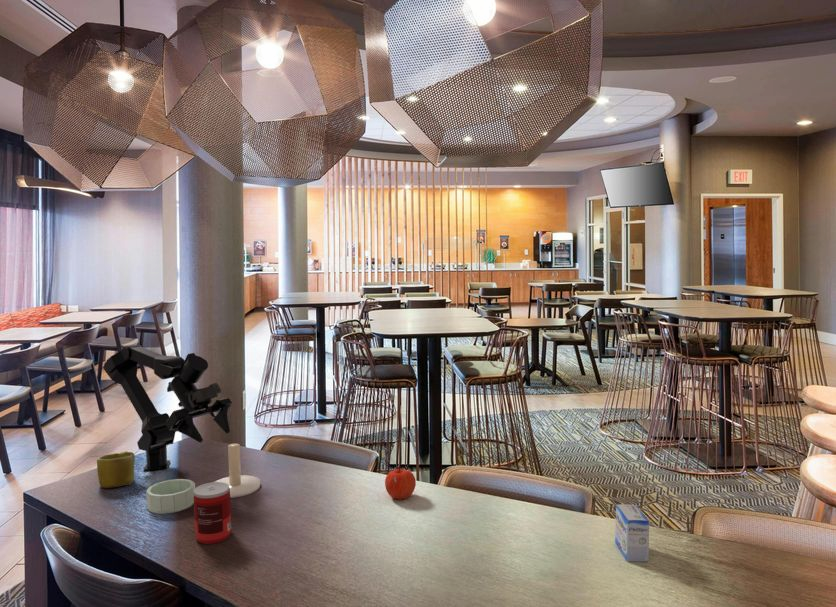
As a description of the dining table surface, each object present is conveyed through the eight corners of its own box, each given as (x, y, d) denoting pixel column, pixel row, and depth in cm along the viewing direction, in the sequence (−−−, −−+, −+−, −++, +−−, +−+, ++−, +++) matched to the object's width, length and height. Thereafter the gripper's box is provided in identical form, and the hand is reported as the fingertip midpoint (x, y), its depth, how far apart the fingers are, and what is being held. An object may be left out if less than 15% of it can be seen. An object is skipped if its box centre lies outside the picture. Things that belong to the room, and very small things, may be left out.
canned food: (221, 525, 136) (219, 479, 135) (238, 536, 130) (236, 488, 129) (189, 536, 130) (187, 488, 129) (204, 548, 125) (202, 498, 124)
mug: (128, 484, 156) (119, 448, 157) (93, 496, 156) (84, 460, 158) (152, 477, 168) (144, 443, 170) (120, 487, 169) (111, 454, 170)
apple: (409, 505, 145) (408, 473, 145) (379, 500, 148) (379, 470, 148) (420, 493, 153) (420, 463, 152) (392, 489, 156) (392, 460, 155)
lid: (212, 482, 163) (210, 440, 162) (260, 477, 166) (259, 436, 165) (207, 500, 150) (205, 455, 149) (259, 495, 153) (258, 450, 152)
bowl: (152, 498, 151) (151, 481, 151) (197, 493, 154) (196, 477, 154) (143, 516, 141) (142, 498, 141) (191, 510, 143) (191, 493, 143)
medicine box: (614, 543, 124) (615, 503, 124) (635, 543, 124) (636, 503, 124) (626, 562, 117) (627, 520, 116) (649, 562, 116) (649, 520, 116)
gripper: (170, 381, 154) (200, 428, 149) (226, 369, 170) (255, 411, 165) (153, 407, 159) (181, 453, 154) (209, 393, 175) (236, 434, 170)
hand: (215, 437), depth 161 cm, fingers open, 9 cm apart
